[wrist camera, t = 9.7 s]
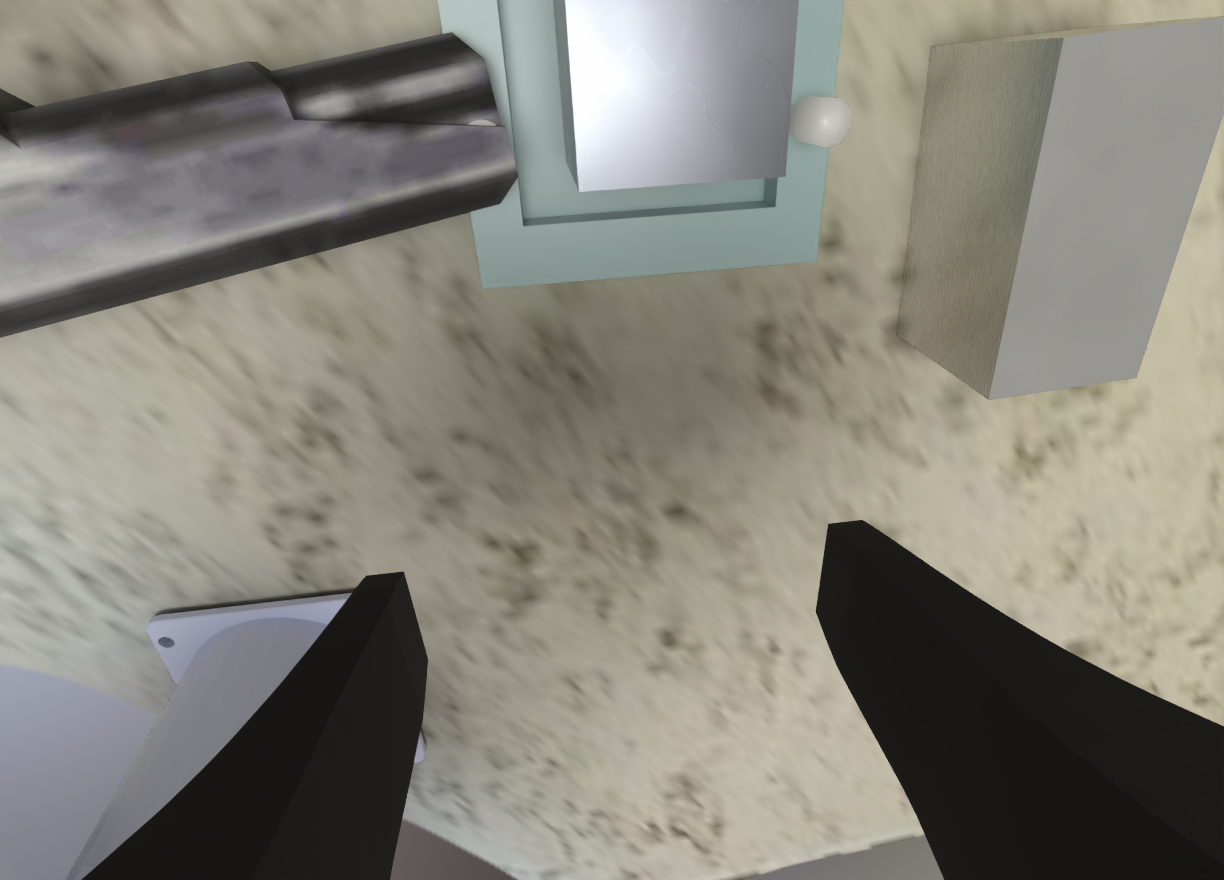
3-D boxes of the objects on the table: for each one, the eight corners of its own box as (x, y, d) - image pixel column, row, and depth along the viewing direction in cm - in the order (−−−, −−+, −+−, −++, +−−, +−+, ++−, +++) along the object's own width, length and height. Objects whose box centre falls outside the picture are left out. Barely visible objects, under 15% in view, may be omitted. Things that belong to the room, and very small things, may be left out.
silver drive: (1012, 315, 21) (1136, 377, 17) (894, 333, 21) (988, 400, 17) (1073, 28, 17) (1256, 13, 13) (928, 46, 17) (1063, 37, 13)
